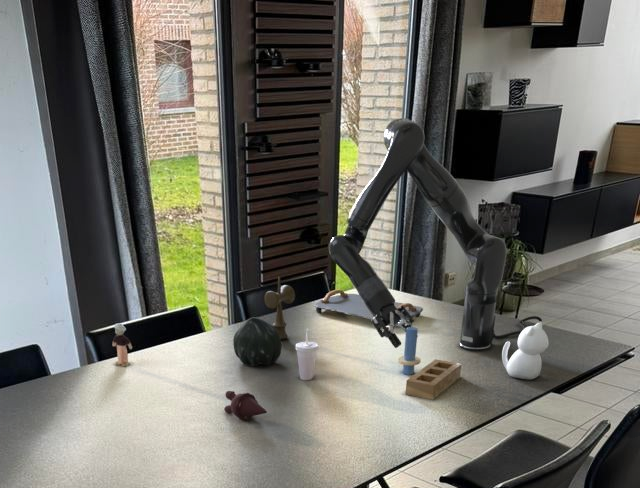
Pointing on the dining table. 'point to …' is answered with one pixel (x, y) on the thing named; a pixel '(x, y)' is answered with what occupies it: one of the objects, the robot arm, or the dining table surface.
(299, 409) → the dining table surface
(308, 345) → the smoothie
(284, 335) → the kendama
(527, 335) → the cat figurine
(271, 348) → the squash
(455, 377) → the rack
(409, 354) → the peg
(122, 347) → the grandmother figurine
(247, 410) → the red gnome figurine
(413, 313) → the serving tray
